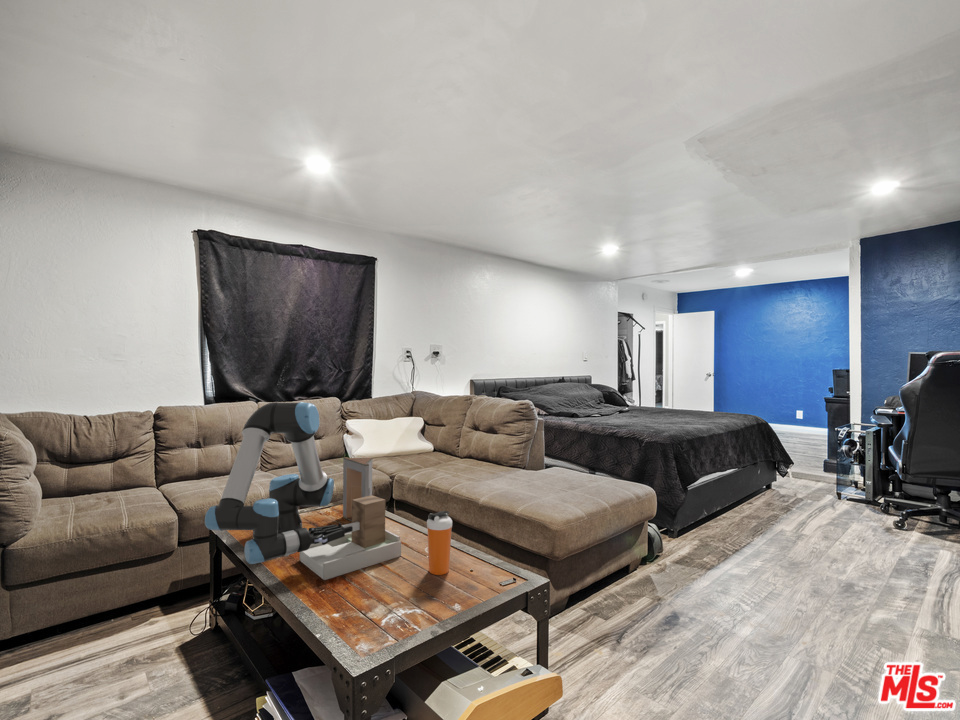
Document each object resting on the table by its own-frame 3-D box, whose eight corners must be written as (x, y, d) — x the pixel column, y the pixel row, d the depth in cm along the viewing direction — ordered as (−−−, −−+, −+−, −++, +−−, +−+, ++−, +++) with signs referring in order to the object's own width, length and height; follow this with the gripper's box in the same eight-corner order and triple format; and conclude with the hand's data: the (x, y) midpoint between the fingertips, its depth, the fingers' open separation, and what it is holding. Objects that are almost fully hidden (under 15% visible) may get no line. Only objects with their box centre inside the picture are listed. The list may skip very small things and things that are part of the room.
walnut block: (351, 541, 179) (352, 499, 179) (371, 535, 185) (372, 495, 186) (364, 548, 173) (365, 504, 173) (384, 541, 179) (385, 499, 179)
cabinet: (342, 517, 220) (343, 457, 220) (361, 512, 226) (361, 454, 227) (365, 528, 204) (365, 464, 205) (384, 523, 211) (384, 461, 211)
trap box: (299, 560, 171) (299, 541, 171) (372, 540, 191) (372, 523, 191) (324, 580, 155) (324, 559, 156) (401, 555, 176) (401, 537, 176)
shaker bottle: (457, 570, 164) (457, 513, 164) (438, 578, 157) (438, 519, 157) (440, 563, 170) (440, 507, 170) (421, 570, 163) (421, 513, 163)
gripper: (288, 546, 164) (350, 531, 180) (302, 558, 154) (367, 540, 170) (288, 525, 164) (350, 511, 180) (303, 535, 154) (367, 519, 170)
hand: (358, 525), depth 175 cm, fingers closed
